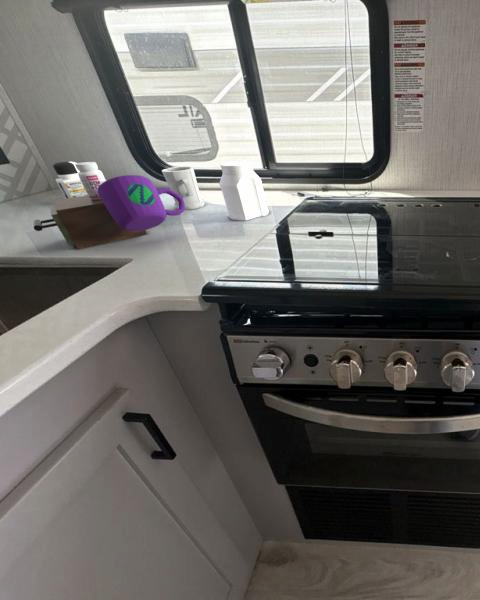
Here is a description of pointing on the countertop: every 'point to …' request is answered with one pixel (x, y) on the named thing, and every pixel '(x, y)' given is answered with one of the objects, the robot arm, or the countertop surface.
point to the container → (69, 180)
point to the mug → (136, 202)
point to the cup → (184, 186)
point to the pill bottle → (90, 178)
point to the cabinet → (90, 222)
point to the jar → (242, 191)
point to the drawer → (58, 222)
